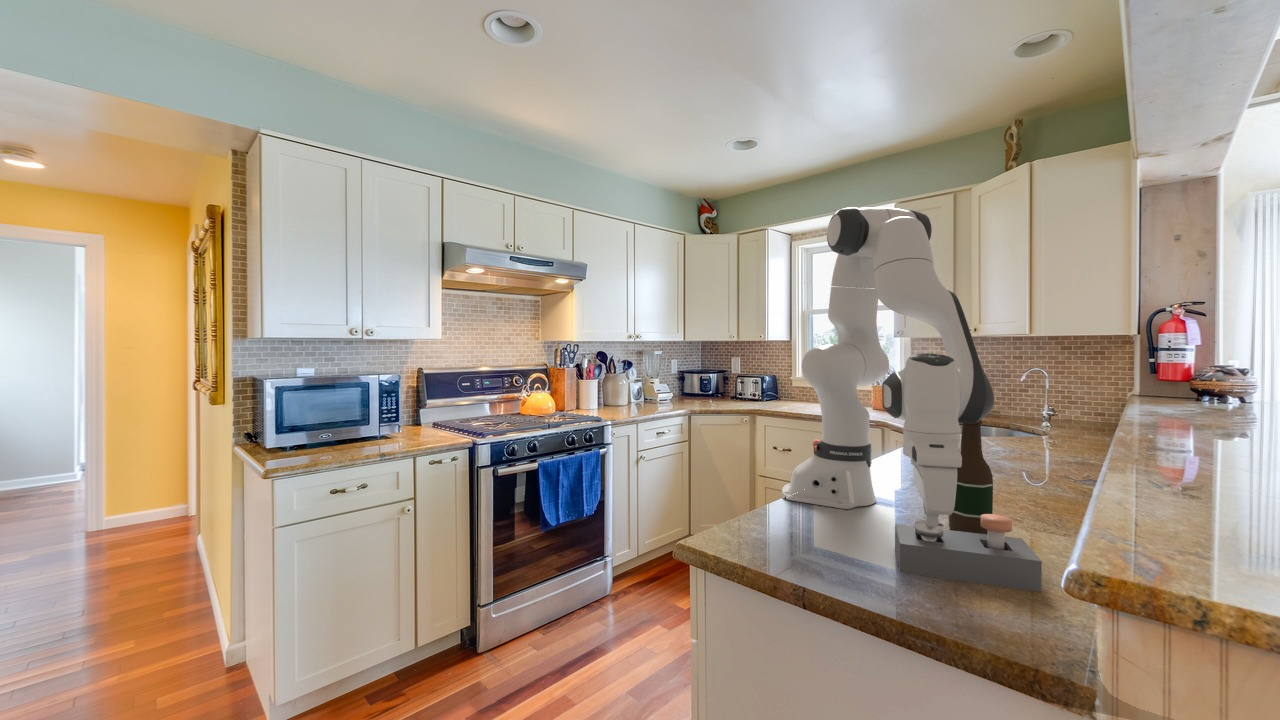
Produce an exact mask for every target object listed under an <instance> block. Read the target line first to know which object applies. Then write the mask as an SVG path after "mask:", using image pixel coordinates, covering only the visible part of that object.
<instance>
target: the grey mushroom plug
mask: <svg viewBox="0 0 1280 720" xmlns="http://www.w3.org/2000/svg"><path fill="white" fill-rule="evenodd" d="M914 526H915V532H916V533H917V534H919V535H921V540H925V541H933V542H937V538H938V537H942V536H943V530H944V525H943V524H942V523H941V522H939V521H938V526H937V527H930V526H927V524H926V522H925V520H924V519H917V520H915V521H914Z"/></svg>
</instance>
